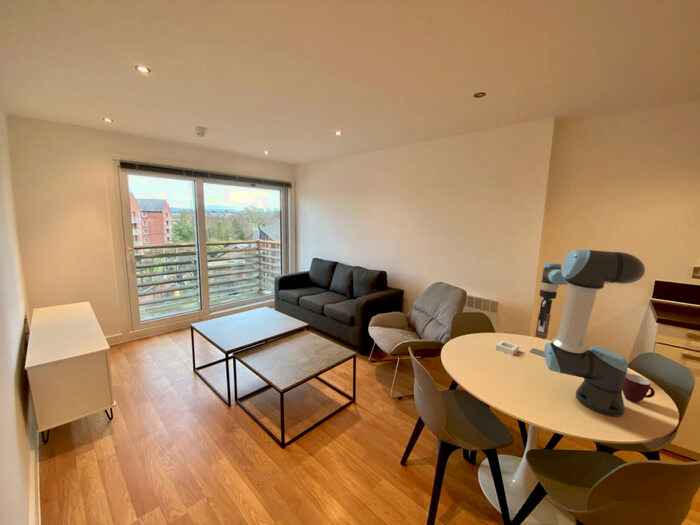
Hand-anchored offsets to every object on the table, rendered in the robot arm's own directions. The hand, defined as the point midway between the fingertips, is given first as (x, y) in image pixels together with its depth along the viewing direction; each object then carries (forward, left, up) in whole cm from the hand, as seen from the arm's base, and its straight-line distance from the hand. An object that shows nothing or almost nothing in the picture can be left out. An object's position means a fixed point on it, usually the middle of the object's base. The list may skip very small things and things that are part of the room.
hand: (542, 330), depth 154 cm
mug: (-16, -40, -14) cm, 45 cm away
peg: (0, 0, -4) cm, 4 cm away
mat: (0, 0, -14) cm, 14 cm away
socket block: (-12, +13, -14) cm, 22 cm away
